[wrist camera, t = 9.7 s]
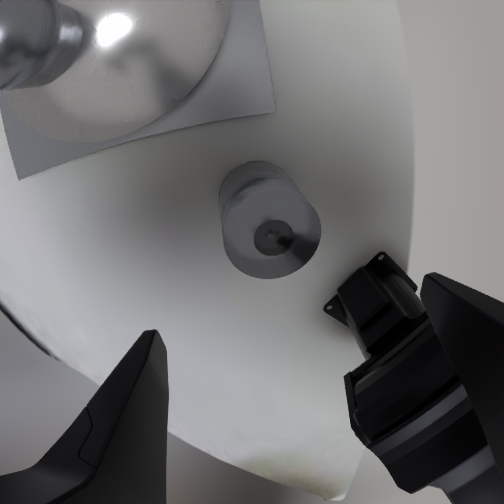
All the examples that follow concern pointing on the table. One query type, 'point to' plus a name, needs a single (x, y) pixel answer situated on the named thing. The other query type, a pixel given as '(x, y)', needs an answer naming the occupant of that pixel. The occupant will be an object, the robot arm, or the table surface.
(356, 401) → the robot arm
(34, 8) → the cylinder
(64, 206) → the table surface
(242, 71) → the scale
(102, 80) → the scale pan
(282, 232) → the cylinder
